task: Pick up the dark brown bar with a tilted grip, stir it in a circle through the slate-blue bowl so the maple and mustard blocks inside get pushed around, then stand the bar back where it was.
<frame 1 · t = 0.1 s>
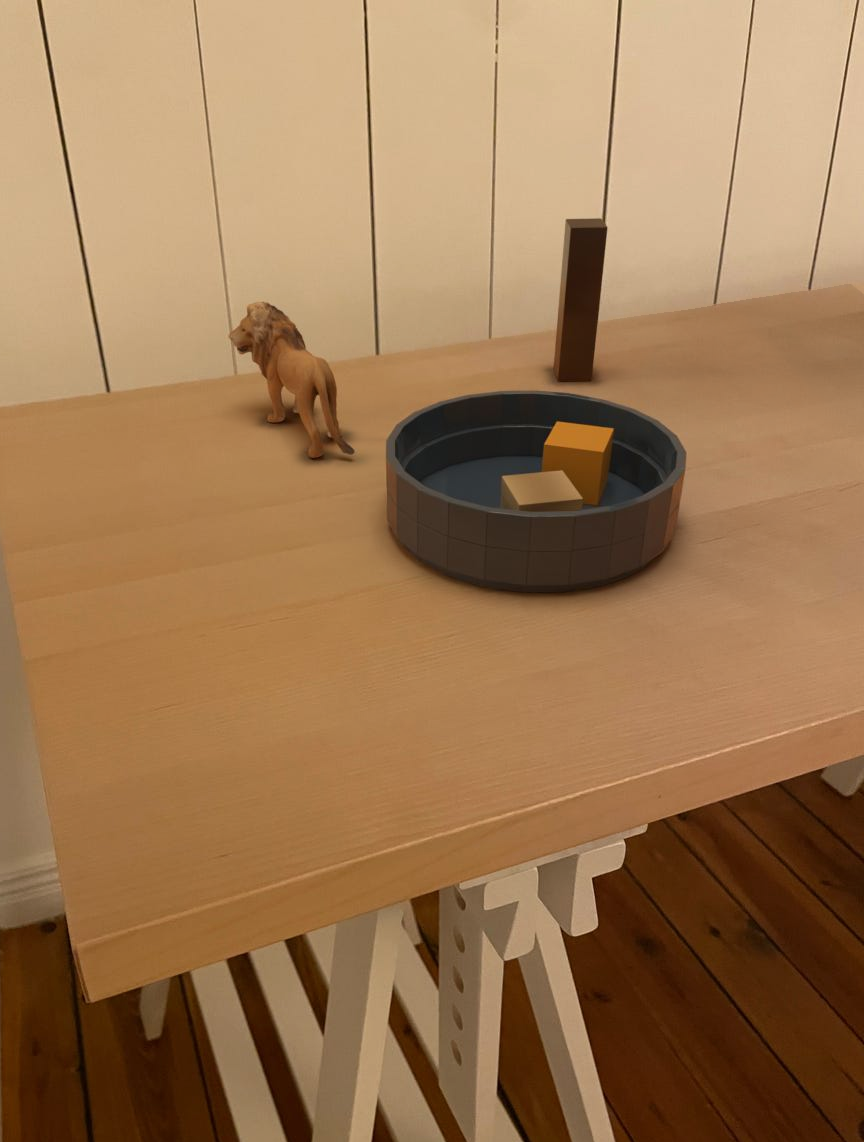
dark brown bar: (572, 375, 91), on the table
lion figurine: (296, 431, 82), on the table
bowl: (528, 520, 69), on the table
block mustard: (574, 489, 71), point 1 cm above the table, touching bowl
block maple: (537, 543, 65), point 1 cm above the table, touching bowl
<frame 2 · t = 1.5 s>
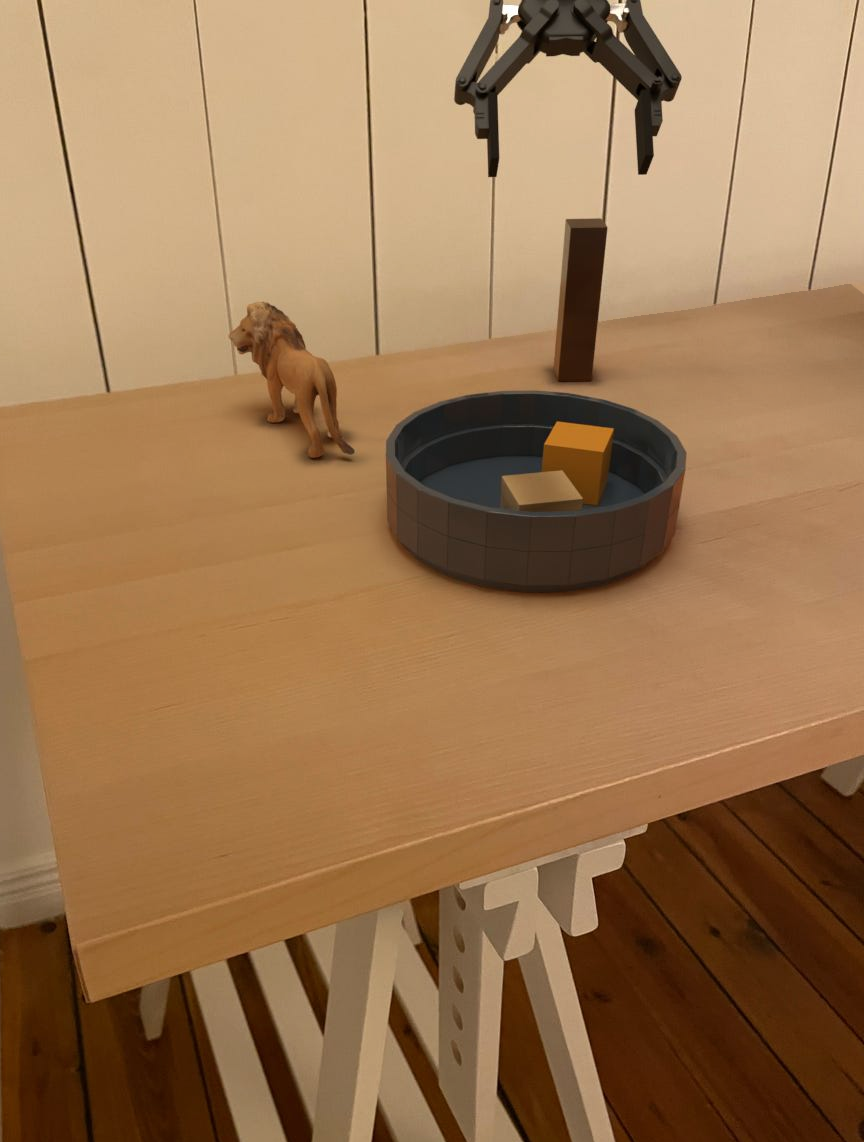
hand: (569, 167, 90), 15 cm above the table, tool tilted 45°, fingers open, 13 cm apart
nothing on the table moved.
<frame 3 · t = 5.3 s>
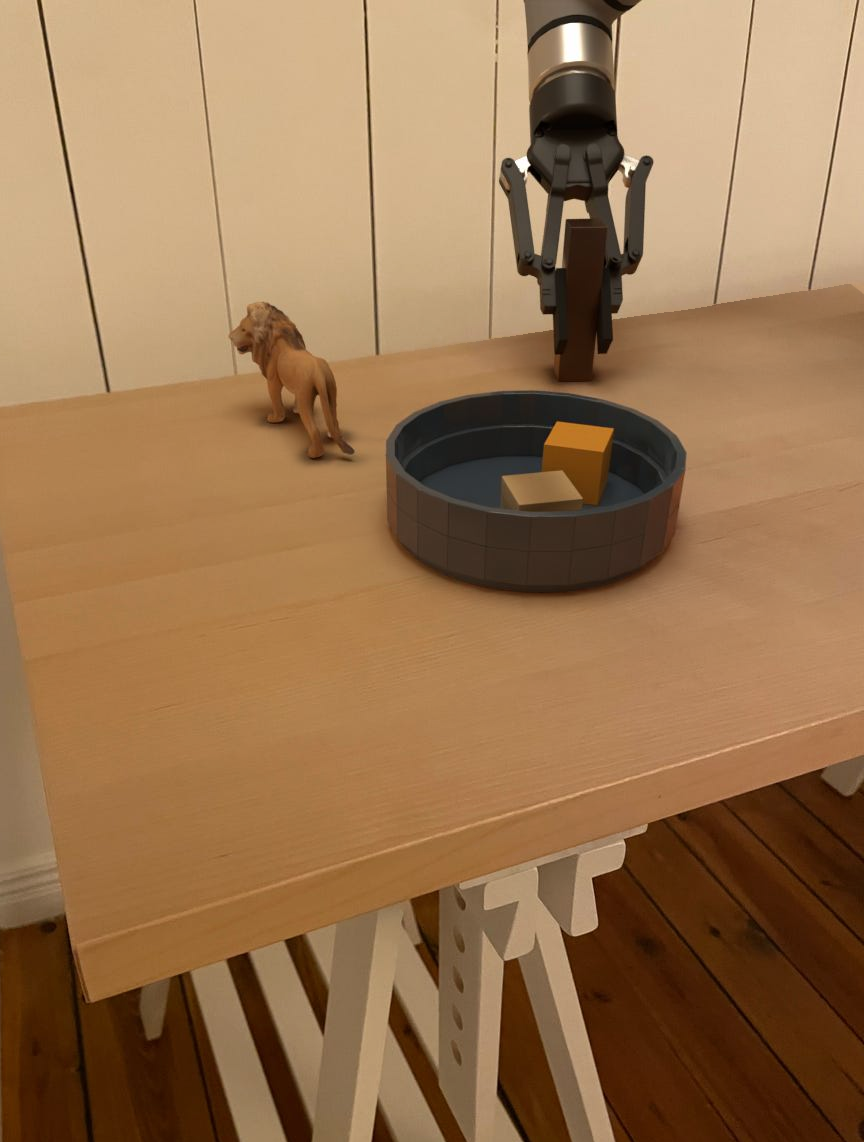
hand: (583, 346, 85), 4 cm above the table, tool tilted 45°, fingers closed on dark brown bar, 3 cm apart
dark brown bar: (572, 375, 91), on the table, touching gripper
everything else where it was.
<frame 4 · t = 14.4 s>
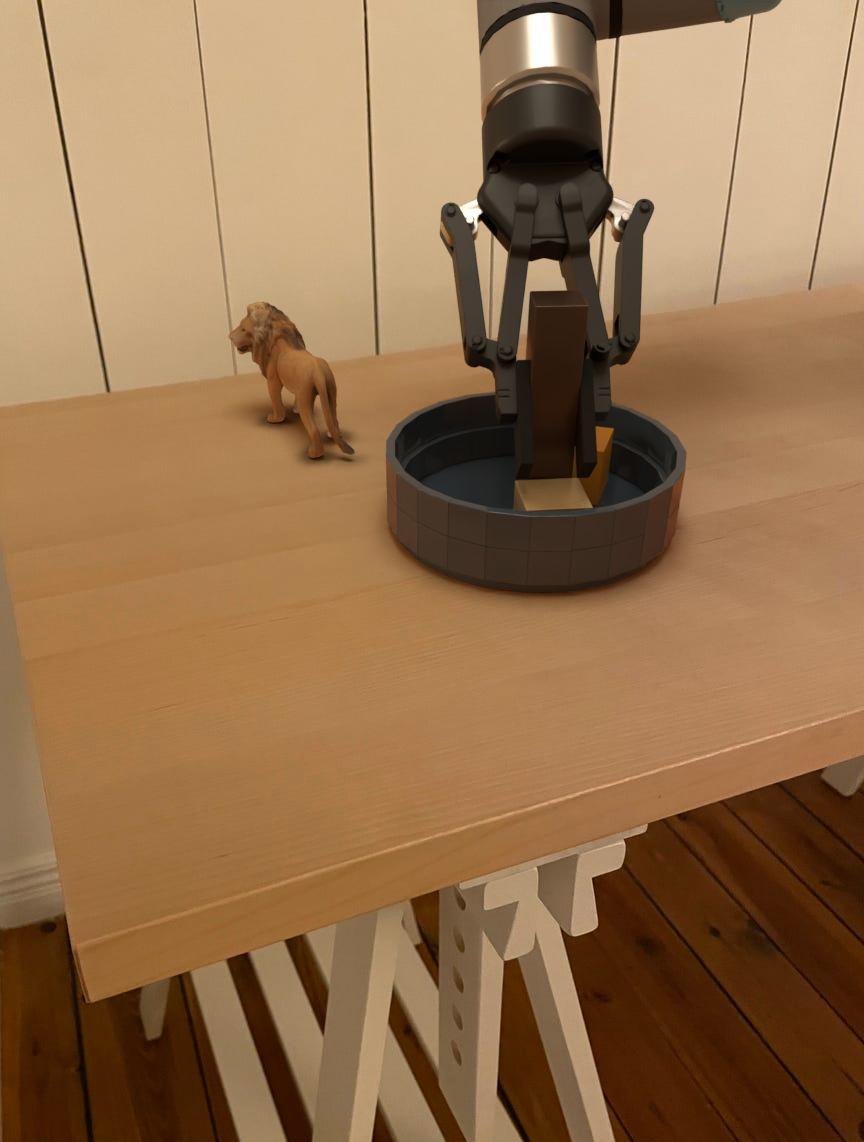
hand: (555, 470, 60), 6 cm above the table, tool tilted 45°, fingers closed on dark brown bar, 3 cm apart
dark brown bar: (542, 499, 66), point 3 cm above the table, touching gripper
block maple: (548, 550, 64), point 1 cm above the table, touching bowl
everything else where it was.
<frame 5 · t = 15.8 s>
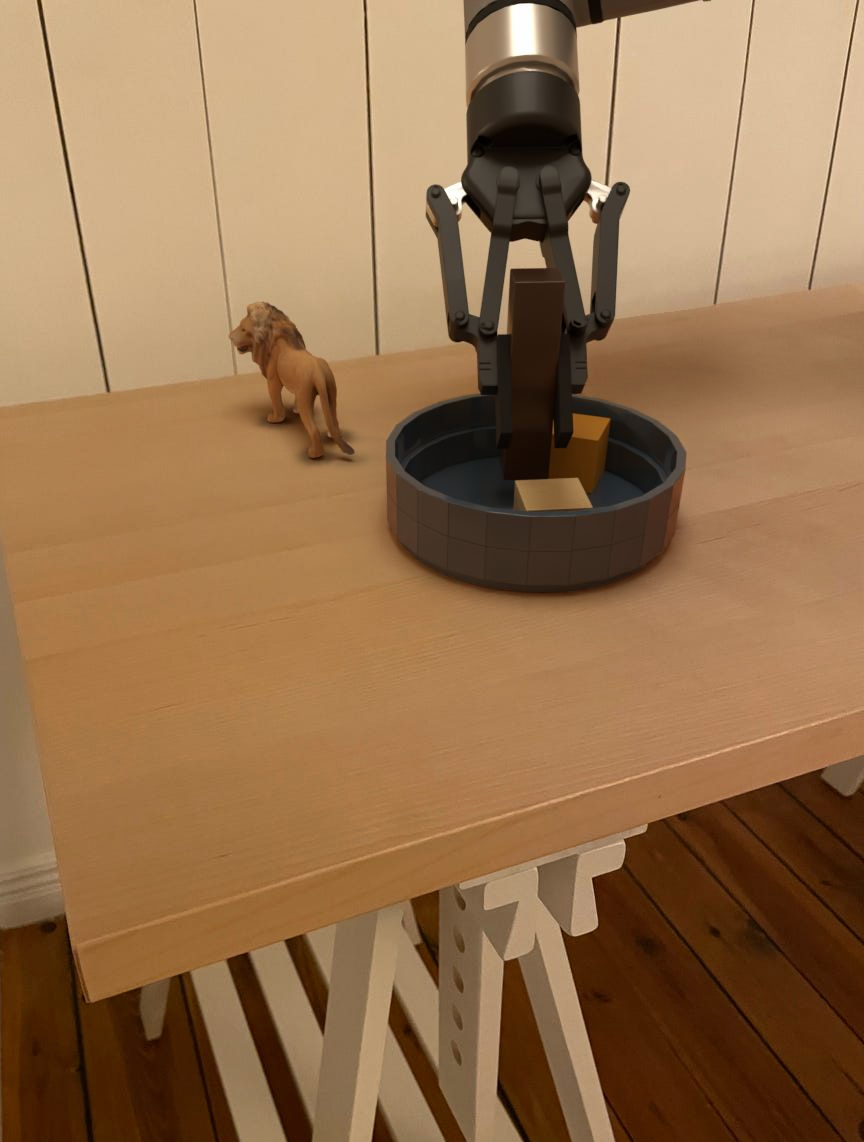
hand: (534, 440, 63), 7 cm above the table, tool tilted 45°, fingers closed on dark brown bar, 3 cm apart
dark brown bar: (523, 470, 69), point 3 cm above the table, touching gripper
block mustard: (570, 477, 72), point 1 cm above the table, touching bowl
everything else where it was.
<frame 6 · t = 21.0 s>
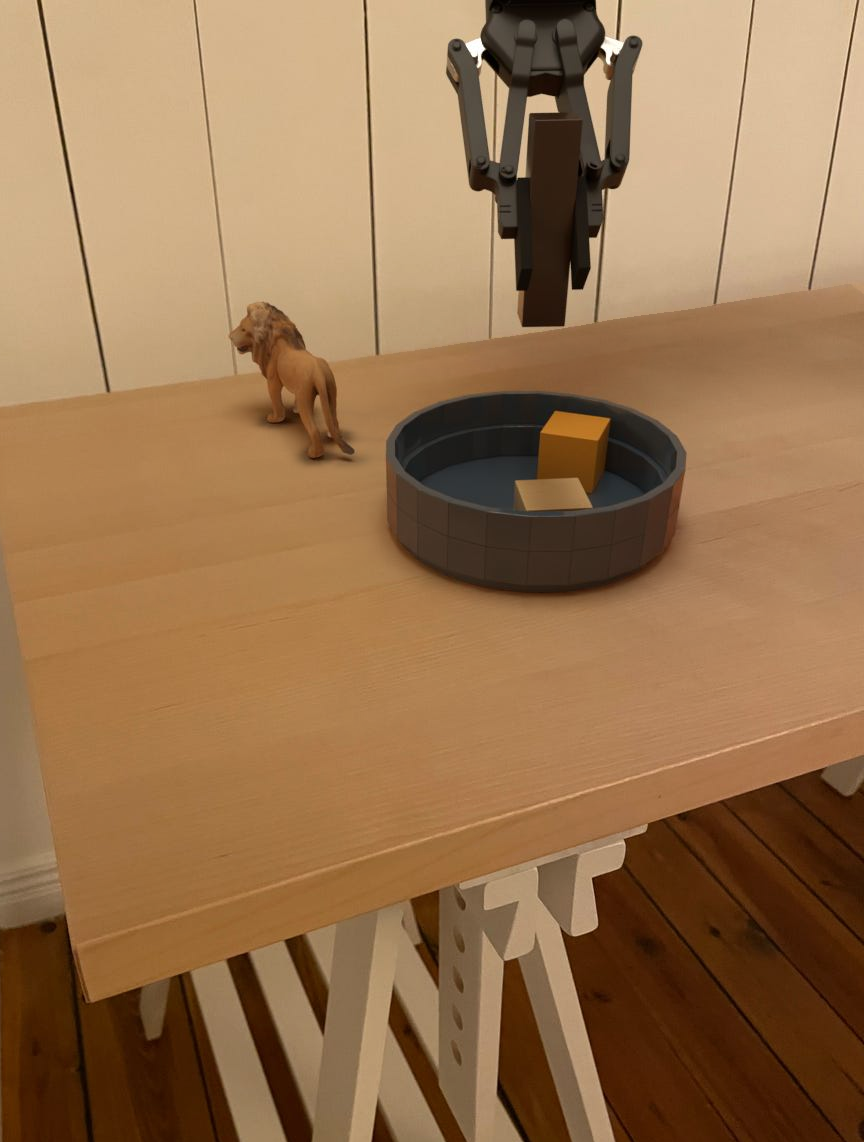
hand: (552, 279, 66), 14 cm above the table, tool tilted 45°, fingers closed on dark brown bar, 3 cm apart
dark brown bar: (540, 320, 72), point 10 cm above the table, touching gripper
everything else where it was.
when the fingers open (4 cm above the table, at t = 24.9 s): dark brown bar stays where it is, on the table.
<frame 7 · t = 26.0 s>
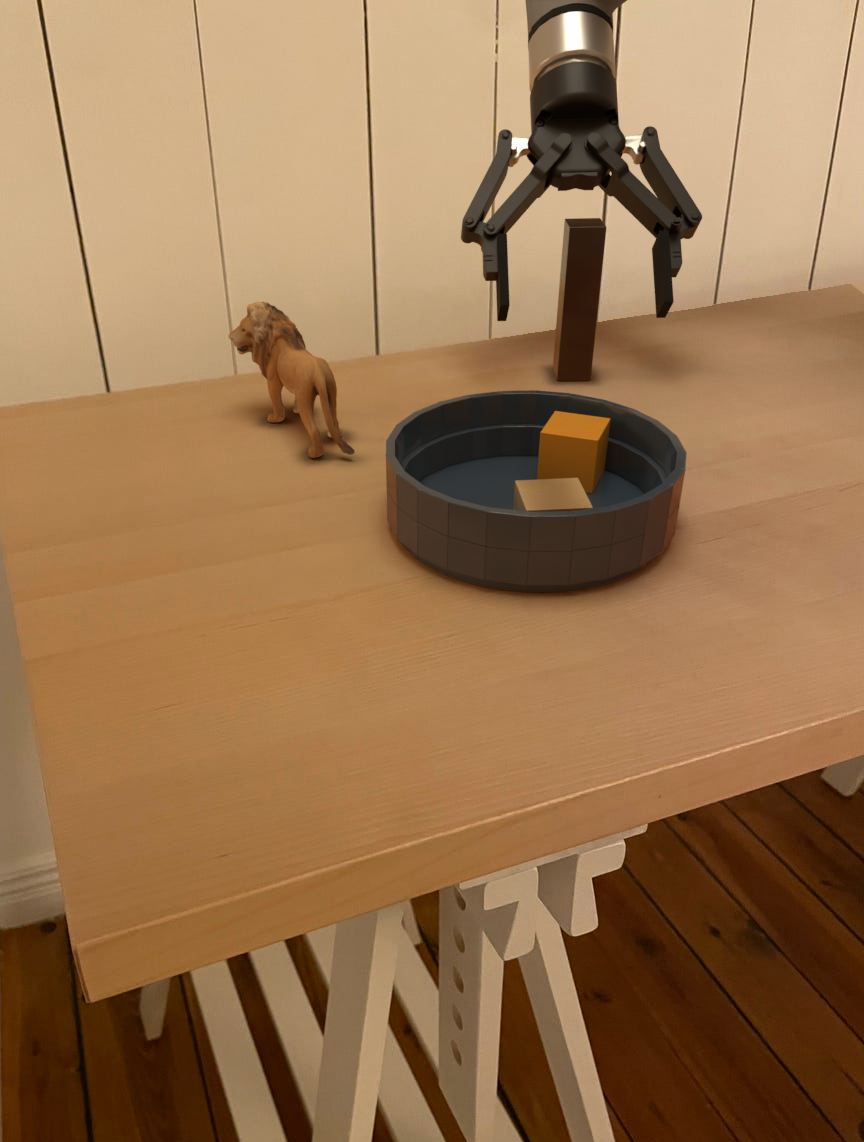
hand: (584, 312, 85), 6 cm above the table, tool tilted 45°, fingers open, 13 cm apart
dark brown bar: (571, 374, 91), on the table
everything else where it was.
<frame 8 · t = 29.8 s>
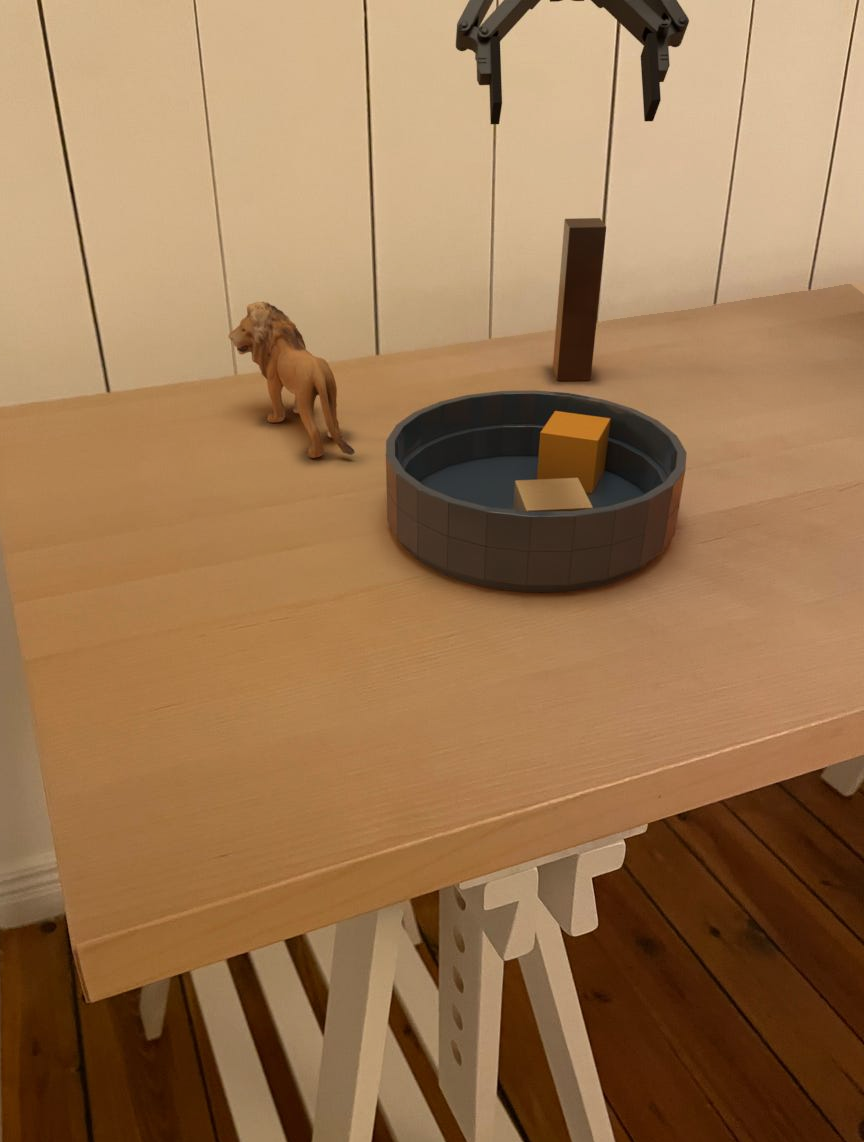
hand: (574, 112, 88), 20 cm above the table, tool tilted 45°, fingers open, 13 cm apart
nothing on the table moved.
at the end: block maple moved 1.1 cm from its start; block maple inside the target area in the bowl (5.4 cm from its centre), point 0.8 cm above the bowl's base; block mustard inside the target area in the bowl (5.9 cm from its centre), point 0.8 cm above the bowl's base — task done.
